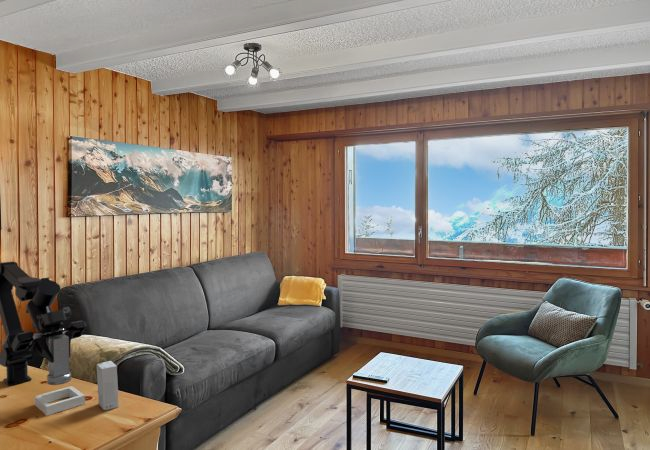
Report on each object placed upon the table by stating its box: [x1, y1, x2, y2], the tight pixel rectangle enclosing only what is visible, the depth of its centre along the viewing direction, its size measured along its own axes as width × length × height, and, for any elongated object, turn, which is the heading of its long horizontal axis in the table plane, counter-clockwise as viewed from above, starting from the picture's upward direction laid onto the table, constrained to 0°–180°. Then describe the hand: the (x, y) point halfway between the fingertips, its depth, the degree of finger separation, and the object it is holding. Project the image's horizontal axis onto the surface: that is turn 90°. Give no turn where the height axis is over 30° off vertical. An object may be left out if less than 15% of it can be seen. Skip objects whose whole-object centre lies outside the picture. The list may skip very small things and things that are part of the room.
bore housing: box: [34, 385, 86, 417], centre depth 133 cm, size 10×10×2 cm
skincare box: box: [96, 360, 120, 411], centre depth 132 cm, size 6×4×12 cm
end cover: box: [46, 334, 72, 386], centre depth 133 cm, size 6×6×13 cm
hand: (61, 359), depth 132 cm, fingers closed on end cover, 4 cm apart
